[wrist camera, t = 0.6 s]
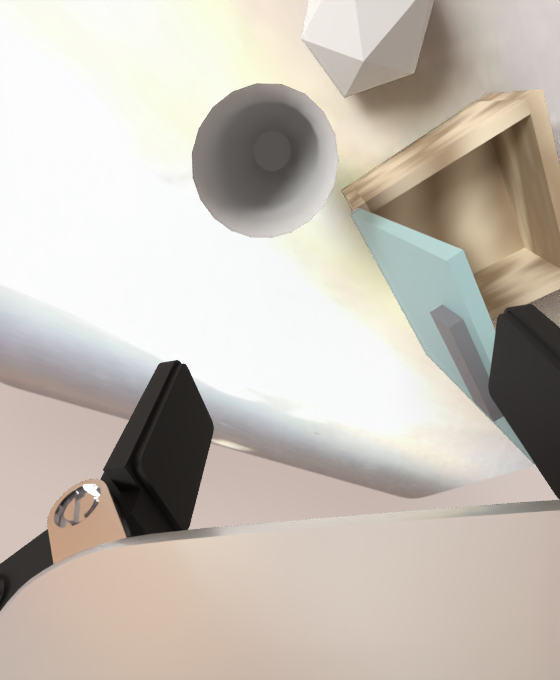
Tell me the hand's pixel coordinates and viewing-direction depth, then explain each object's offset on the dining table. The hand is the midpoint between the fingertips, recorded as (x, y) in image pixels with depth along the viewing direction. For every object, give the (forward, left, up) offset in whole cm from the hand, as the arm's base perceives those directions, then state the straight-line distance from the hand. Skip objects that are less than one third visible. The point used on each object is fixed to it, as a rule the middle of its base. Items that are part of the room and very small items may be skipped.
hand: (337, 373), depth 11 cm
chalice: (0, -5, -29) cm, 29 cm away
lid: (-5, +10, -13) cm, 17 cm away
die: (-10, -8, -29) cm, 32 cm away
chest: (-10, +10, -29) cm, 32 cm away
